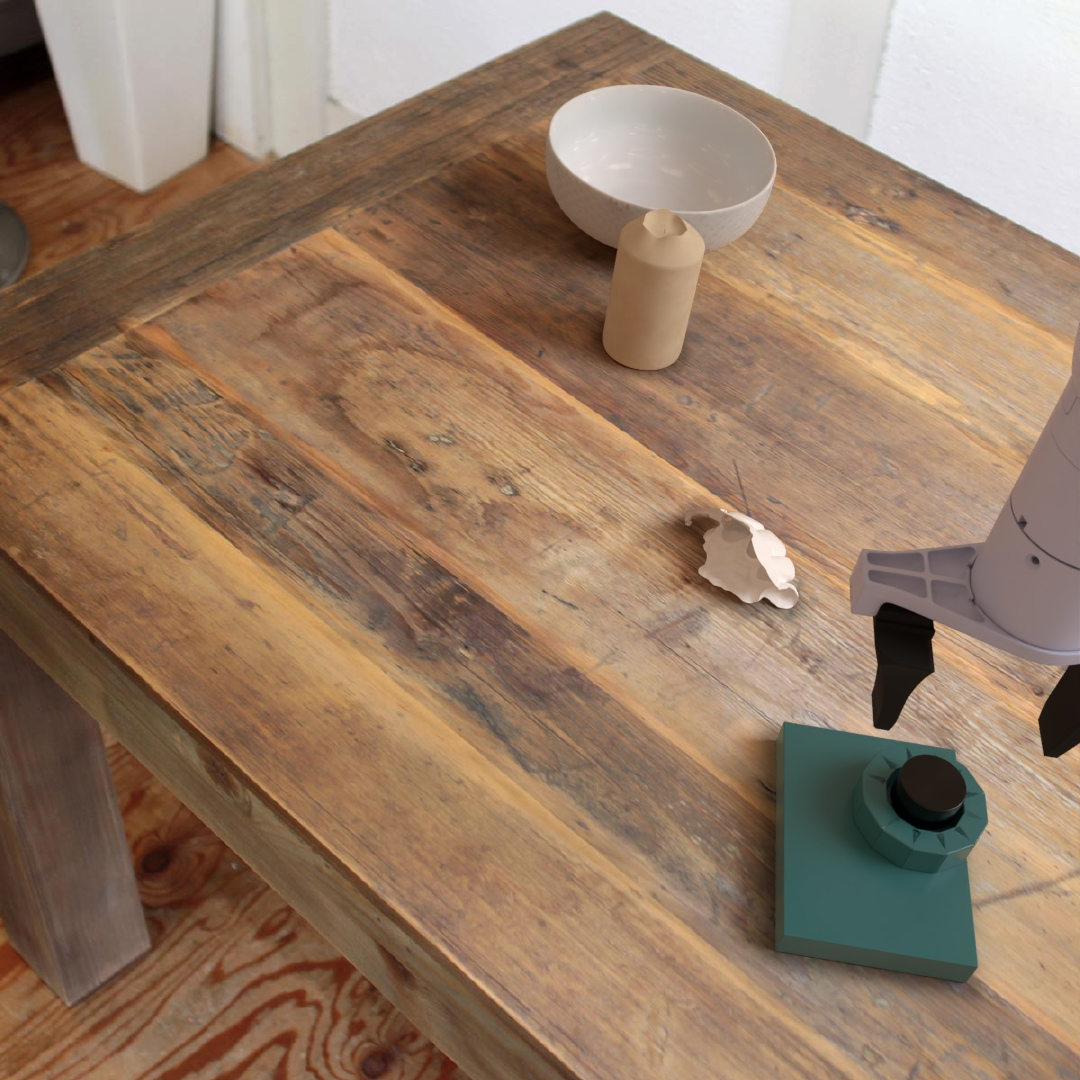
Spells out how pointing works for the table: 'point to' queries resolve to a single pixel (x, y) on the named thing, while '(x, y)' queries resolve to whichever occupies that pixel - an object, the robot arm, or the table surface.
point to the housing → (869, 858)
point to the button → (928, 792)
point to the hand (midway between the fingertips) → (964, 725)
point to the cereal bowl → (657, 162)
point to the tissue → (746, 559)
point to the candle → (652, 290)
